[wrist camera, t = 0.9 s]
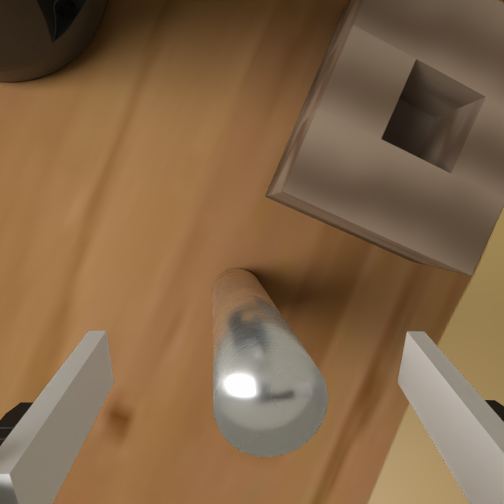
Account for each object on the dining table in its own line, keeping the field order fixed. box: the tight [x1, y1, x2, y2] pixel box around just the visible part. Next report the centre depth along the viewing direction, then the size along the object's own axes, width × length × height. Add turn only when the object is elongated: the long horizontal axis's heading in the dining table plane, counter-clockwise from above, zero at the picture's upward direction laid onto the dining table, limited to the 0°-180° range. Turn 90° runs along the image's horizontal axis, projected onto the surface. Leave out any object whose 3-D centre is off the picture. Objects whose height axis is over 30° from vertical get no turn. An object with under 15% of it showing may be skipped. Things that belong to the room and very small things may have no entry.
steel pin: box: [212, 268, 328, 457], centre depth 21 cm, size 4×4×17 cm
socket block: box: [265, 0, 504, 276], centre depth 25 cm, size 16×14×7 cm
